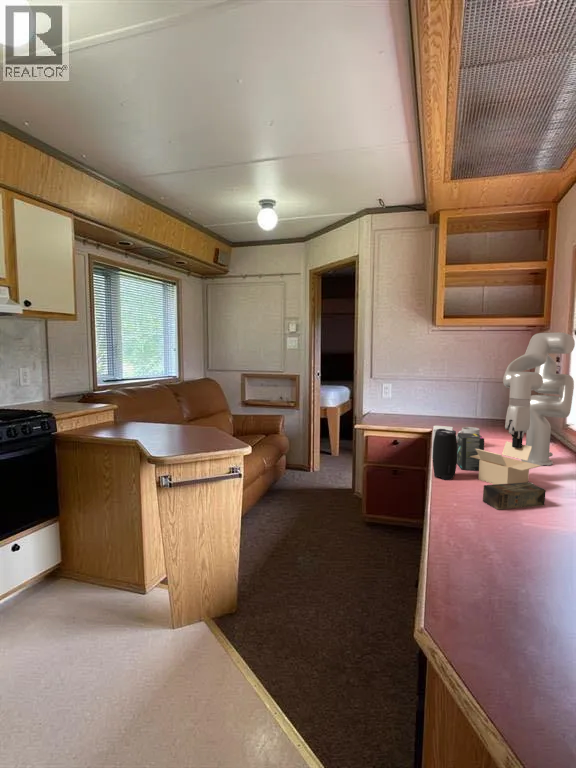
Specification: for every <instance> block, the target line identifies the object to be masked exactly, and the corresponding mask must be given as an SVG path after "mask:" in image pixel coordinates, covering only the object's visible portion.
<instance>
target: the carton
mask: <svg viewBox="0 0 576 768" xmlns="http://www.w3.org/2000/svg"><path fill="white" fill-rule="evenodd" d="M470 457H472V458H476V459H480V460H479V471H478V480H479V481H482V482H485V481H486V483H488V482H489V483H488V484H491V483H492V484H491V485H493V484H510V483H528V482H529V476H530V475H529V473H530V470H531V469H535V468H539V467H542V465H537V464H533V463H529V462H524V461H522V460H521V459H517V458H516V459H515V458H513V457H508V456H504V455H502V457H503V459H504V461H505V463H506V465H507V466H505V465H501V464H497V463H493V462H490V461H486V460H482V459H481V458H480V456H479V455H474V456H470Z"/></svg>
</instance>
